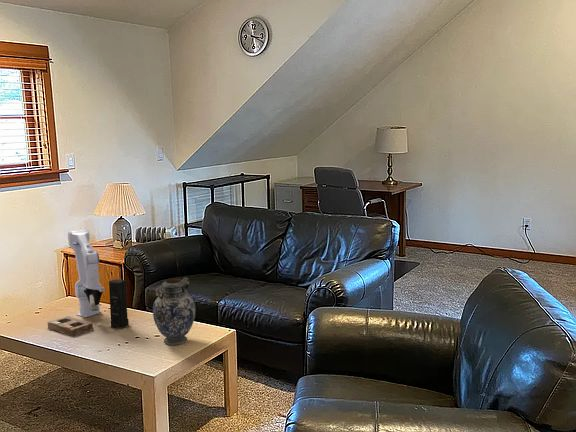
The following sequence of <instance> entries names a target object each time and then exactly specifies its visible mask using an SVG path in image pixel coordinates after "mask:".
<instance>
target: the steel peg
mask: <svg viewBox="0 0 576 432" xmlns="http://www.w3.org/2000/svg"><path fill="white" fill-rule="evenodd" d="M89 297H90V311H98V310H99V305H100V304H99V305H95V303H94V297H93V295H92V294H89Z"/></svg>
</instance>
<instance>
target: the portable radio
mask: <svg viewBox="0 0 576 432" xmlns="http://www.w3.org/2000/svg"><path fill="white" fill-rule="evenodd" d="M127 285H128V284H127V280H126V279H124V276H122V279H116V278H115V279H112V280H109V281H108V289H109V291H108V292H109V309H110V311H109V312H110V327H111V328H116V329H122V330H123V329H124V328H126V327H128V326H129V317H128V316H129V315H128V301H127V299H128V298H127Z"/></svg>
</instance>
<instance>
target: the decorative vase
mask: <svg viewBox="0 0 576 432" xmlns="http://www.w3.org/2000/svg"><path fill="white" fill-rule="evenodd" d="M189 286H190V280H189V278H188V277H187V276H186V277H183V278H182V279H181V278H168V279H165V280H164V282H162V284H161V285H159V286H158V287H156V289H155V296H156V297H157V298H156V299H155V301H153V304H152V316H153V320H154V324H155V326H156V328H157V330H158V331H159V333H160V334H161V335H162V336H164V337H165V338H164V339H163V344H164V343H165V344H164V345H166V344H167V345H166V346H180V345H179V344H181V345H183V344H182V343H184V344H186V343H187V342H188V340H187V339H188V337H187V336H186V335H187V334H188V333H189V332H190V330H191V329H192V327H193V325H194V321H195V317H196V304H195V301H194V299H193V297H192V296H191V295H190V294H189V292H188V291H187V289H188V288H189ZM186 341H187V342H186ZM185 342H186V343H185Z"/></svg>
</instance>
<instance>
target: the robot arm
mask: <svg viewBox="0 0 576 432" xmlns="http://www.w3.org/2000/svg"><path fill="white" fill-rule="evenodd" d="M90 236H91V235H90V231H89V230H88V229H87V228H86V229H81V230H70V231H69V230H68V232H67V240H68V246H69V248H70V249H72V250H73V252H74V257H75V262H76V268H77V273H78V279H79V280H77V281H76V282H75V284H74V295H75V297H76V298H77V299H78V305H79V312H78V313H76V316H79V317H83V318H87V317H91V316H94V315H97V314H101V313H102V312H101V307H100V306H101V305H100V303H101V298H102V295H103V294H104V292H105V287H103V286H102V284H101V283H100V274H99V264H100V255H99V253H98V251H96V250H95V249H94V247H93V246H92V244H90ZM89 294H92V295H93V297H94V303H95V305H99V310H98V311H90V297H89Z"/></svg>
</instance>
